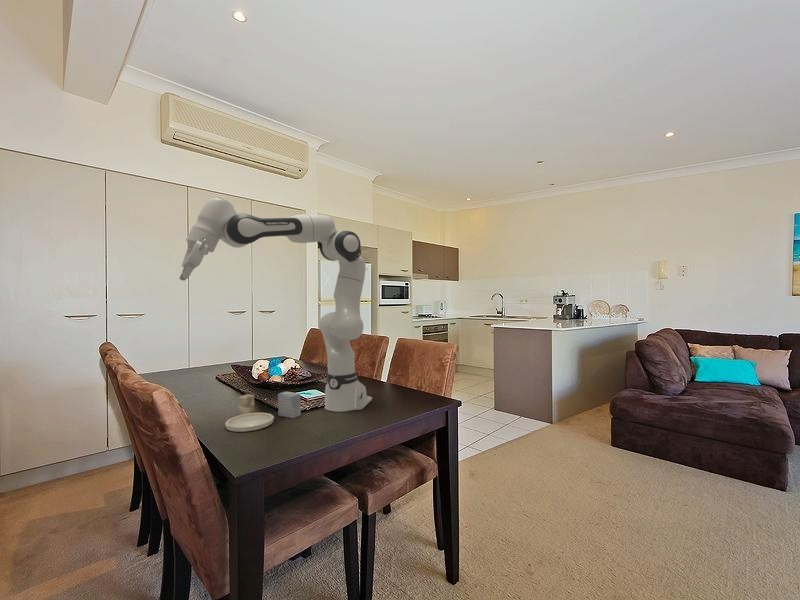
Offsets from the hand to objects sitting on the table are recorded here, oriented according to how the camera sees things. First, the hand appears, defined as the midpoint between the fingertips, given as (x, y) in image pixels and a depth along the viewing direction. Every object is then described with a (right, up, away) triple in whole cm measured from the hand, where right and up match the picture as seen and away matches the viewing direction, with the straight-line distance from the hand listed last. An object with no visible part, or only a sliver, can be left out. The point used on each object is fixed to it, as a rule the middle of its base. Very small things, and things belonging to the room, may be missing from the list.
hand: (183, 279), depth 125 cm
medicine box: (+28, -52, +23) cm, 63 cm away
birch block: (+10, -52, +27) cm, 59 cm away
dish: (+16, -52, +14) cm, 56 cm away
